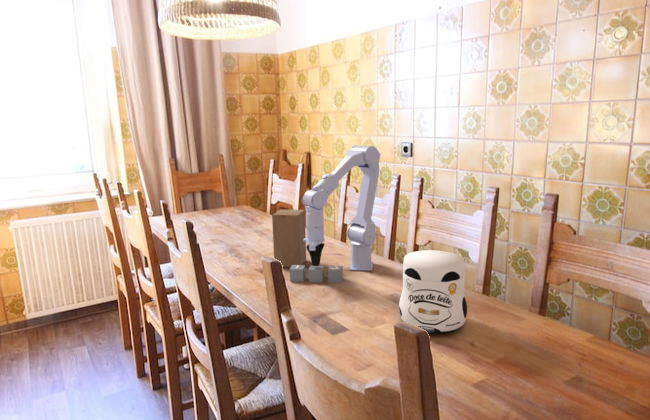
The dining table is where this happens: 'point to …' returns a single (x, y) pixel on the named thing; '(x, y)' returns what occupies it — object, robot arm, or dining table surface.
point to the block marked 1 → (297, 273)
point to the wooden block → (289, 237)
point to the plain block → (316, 273)
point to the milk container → (433, 291)
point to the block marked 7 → (335, 274)
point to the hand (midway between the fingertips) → (316, 265)
